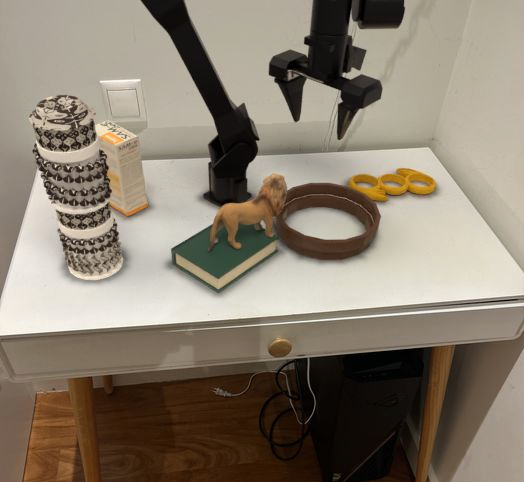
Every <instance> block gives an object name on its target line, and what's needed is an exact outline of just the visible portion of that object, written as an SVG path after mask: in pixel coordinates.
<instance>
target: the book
mask: <svg viewBox="0 0 524 482" xmlns="http://www.w3.org/2000/svg"><path fill="white" fill-rule="evenodd" d="M254 225H255V224H251V225H244V224H240V223H238V230H237V232H236V235H235V242H236V243H238V242H239V243H240V244H241V246H242V247H241V248H240V249H235V248H234V247H233V246H232V245H231V244H230V242H229V241H228V231H227V229H226V227H225V225H224V226H223V227H222V228H221V229H220V230H219V231H218V232H217V233H216V235H215V237H216V238H218V242H217V243H214V246H213V248H212V250H210V251H208V248H209V245H210V243H211V242H210V232H211V229H212V227H213V223H211V224H210V225H207V227H205V228H203V229H202V230H200V231H197V232H196V233H195V234H193V235H192V236H189V237H188V238H186V239H185V240H183V241H182V242H179V243H178V244H177V245H175V246H173V247H171V248H170V255H171V263H172V265H173V266H174V267H176V268H178V269H179V270H180V271H182V272H184V273H186V274H188V275H189V276H191V277H192V278H194V279H195V280H197V281H198V282H200V283H202V284H203V285H205V286H206V287H208V288H209V289H211V290H212V291H214V292H216V293H218V294H220V293H222V292H223V291H224V290H226V289H227V288H228V287H230V286H231V285H233V284H234V283H236V282H237V281H239V280H240V279H241V278H243V277H244V276H245V275H247V274H248V273H250V272H251V271H253V270H254V269H255V268H257V267H258V266H260V265H261V264H263V263H264V262H266V261H267V260H268V259H270V258H271V257H273V256H274V255H276V254H277V253H278V252H279V249H277V240H279V239H280V237H279V235H277V234H276V233H274V236H273V237H272V238H270V237H267V236H266V233H265V228H264V227H263V228H262V229H261V230H256V229H255V228H254Z"/></svg>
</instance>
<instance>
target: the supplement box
mask: <svg viewBox="0 0 524 482" xmlns="http://www.w3.org/2000/svg"><path fill="white" fill-rule="evenodd" d="M95 131H96V132H97V134H98V136H99V141H100V148H99V149H100V150H103V151H104V153H105V154H106V155H107V159H106V164H107V165H108V166H109V170H107V171H108V173H107V174H106V175H107V176H108V178H109V179H110V183H109V186H110V189H112V193H111V198H110V201H109V203H110V207H112V208H114V209H116V211H119V212H120V213H122V214H123V215H125V216H127V217H129V216H131V215H134V214H136V213H138V212H140V211H142V210H144V209H146V208H148V207H149V203H148V197H147V190H146V183H145V174H144V167H143V160H142V153H141V145H140V137H139V135H137V134H135V133H133V132H131V131H129V130H127V129H126V128H124V127H122V126H120V125H119V124H117V123H114V122H113V121H111V120H108V119H107V120H105V121H102V122H99V123H97V124H96V123H95ZM100 159H101V157H100Z"/></svg>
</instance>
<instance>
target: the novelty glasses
mask: <svg viewBox="0 0 524 482" xmlns="http://www.w3.org/2000/svg"><path fill="white" fill-rule="evenodd" d="M396 173H397V174H396ZM396 173H385V174H382V175H379V177H375V176H374V175H371V174H367V173H360V174H355V175H353V176H352V177H350V179H349V181H348V187H351V188H353V189H355V190H357V191H359V192H362V193H364V194H366V195H367V196H368V197H369V198H370V199H371V200H372V201H374V202H375V201H376V202H387V201H389V197H388V196H386V195H391V196H399V195H403V194H405V193H406V192H407V191H408V192H411V193H412V194H416V195H429V194H431V193H433V192H434V191H435V190H436V187H437V183H436V179H434V178H433V176H431V175H428V174H426V173H424V172H421V171H419V170H416V169H412V168H405V167H400V168H399V167H398V168H396ZM361 182H364V183H368V184H371V185H372V186H371V187H364V186H360V185H358V184H356V183H361ZM385 182H386V183H387V182H394V183H397V184H399V185H400V186H389V185H388V184H387V185H386V184H385ZM412 182H422V183H425V184H427V185H428V186H419V185H416V184H414V183H412Z"/></svg>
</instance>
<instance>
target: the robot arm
mask: <svg viewBox="0 0 524 482" xmlns="http://www.w3.org/2000/svg"><path fill="white" fill-rule="evenodd" d="M140 2H141V3H142V5H143V6H144V7H145V9H146V10H147V11H148V12H149V14H150V16H151V17H152V18H153V19H154V20H155V21H156V22H157V24H158V25H160V26H161V27H162V29H164V31H165V32H166V33H167V34H168V36H169V38H170V39H171V41H172V43H173V45H174V47H175V50H176V51H177V52H178V55H179V57H180V58H181V61H182V63H183V64H184V66H185V68H186V70H187V72H188V74H189V75H190V77H191V79H192V81H193V83H194V85H195V87H196V89H197V91H198V93H199V94H200V96H201V99H202V100H203V101H204V104H205V106H206V108H207V110H208V112H209V113H210V115H211V117H212V119H213V123H214V126H215V129H216V135H215V136H214V137H213V138H212V139H211V141H210V142H209V143H207V149H208V153H209V158H210V161H209V162H207V167H208V168H207V169H208V191H206V192H204V193H203V194H202V197H203V198H204V199H205V200H207V201H209V202H211V203H213V204H215V205H217V206H218V207H219V208H221V207H222V206H223V205H225V204H228V203H244V202H247V201H248V200H249V199H250V198H252V196H253V195H252V193H251V192H249V191H248V181H249V180H248V178H247V170H248V168H249V165H250V164H251V163H252V162H254V160H255V159H256V158H257V156H258V153H259V145H258V142H259V141H261V140H260V139H261V138H260V137H259V133H258V131H257V127H256V123H255V122H254V119H252V118H251V117H250V116H249V112H248V109H247V106H246V103H245V102H242V103H241V104H239V105H238V106H237V105H236V103H235V102H233V100H232V99H231V97H230V95H229V93H228V91H227V88H226V87H225V85H224V83H223V81H222V79H221V77H220V75H219V73H218V71H217V68H216V67H215V65H214V63H213V61H212V59H211V57H210V55H209V52H208V50H207V49H206V46H205V45H204V42H203V39H201V36H200V34H199V32H198V31H197V28H196V26H195V24H194V22H193V20H192V17H191V16H190V13H189V9H188V7H187V3H186V0H140ZM405 11H406V6H405V0H312V4H311V15H310V27H309V34H308V35H305V36H304V37H303V45H305V46H308V49H307V54H305V53H302V52H299V51H296V50H293V49H291V48H290V49H288V50H285V51H283V52H280V53H277V54H275V55H273V56H272V57H271V59H270V60H269V62H268V76H270V77H273V82H274V83H275V84H277V85H278V88H279V90H280V91H281V93H282V96H283V98H284V100H285V102H286V105H287V108H288V110H289V112H290V114H291V118H292V120H293V122H294V123H298V122H299V121H300V119H301V114H302V107H303V106H302V105H303V96H304V95H303V94H304V86H305V84H306V82H307V80H311V81H313V82H316V83H319V84H322V85H324V86H327V87H329V88H332V89H335V90H338V91H340V97H339V98H340V100H341V101H340V102H339V103H337V114H336V115H337V117H336V118H337V119H336V138H337V141H341V140H342V139H344V137H345V135H346V133H347V131H348V129H349V127H350V125H351V124H352V122H353V120H354V118H355V116H356V115H357V113H358V112H359V110H363V109H365V108H367V107H369V106H371V105H372V104H374V103H376V102H378V101H379V100H381V99H382V95H383V90H384V89H383V88H384V87H383V84H382V81H381V80H380V79H377V78H374V77H371V76H368V75H365V74H362V73H360V74H359V75H357V76H355V77H353V78H347V77H345V76H343V74H349V73H351V72H352V69H354V70H357V71H361V69H362V66H363V63H364V60H365V57H366V55H367V51H368V50H367V49H366V48H362V47H359V46H356V45H353V41H354V40H353V35H350V34H349V29H350V21H351V20H352V21H353V22H354V23H356V24H357V27H358V28H359V30H397V29H399V28H400V26H401V25H402V23H403V20H404V16H405Z"/></svg>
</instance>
